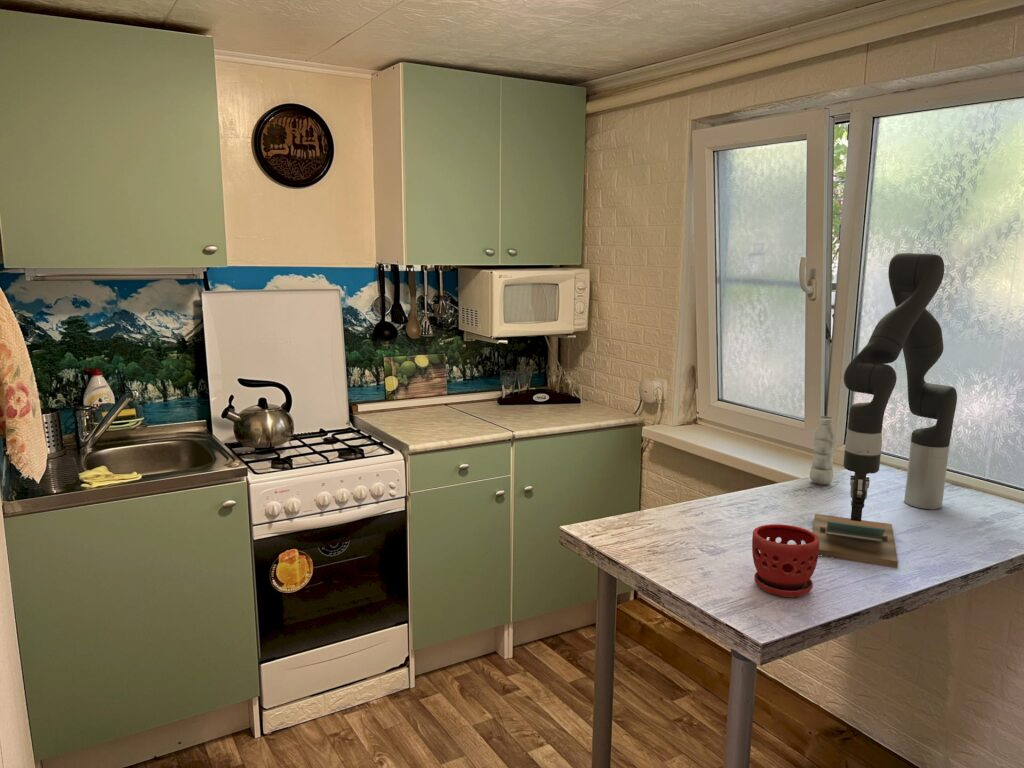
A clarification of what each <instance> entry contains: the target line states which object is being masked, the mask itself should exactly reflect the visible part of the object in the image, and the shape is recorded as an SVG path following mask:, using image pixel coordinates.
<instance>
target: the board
mask: <svg viewBox="0 0 1024 768" xmlns="http://www.w3.org/2000/svg"><path fill="white" fill-rule="evenodd" d="M828 517H831V518H838V519H845V520H851V517H850V518H849V517H842V516H835V515H826V514H819V513H814V519H813V527H812V528H813V529H812V532H813V533H814V534H816V535H817V536H818V538H819V554H818V555H822V556H821V557H824V556H827V557H826V558H830V557H833V559H837V558H839V559H838V560H843V559H845V560H844V561H849V562H850V561H851V562H857V563H863V564H870V565H875V566H876V565H878V566H884V567H889V568H890V567H891V568H896V569H898V565H899V560H898V554H897V547H896V539H895V536H894V535H895V534H894V529H893V524H892V523H889V522H888V523H887V522H880V521H879V522H878V521H871V520H863V519H861V522H867V523H875V524H882V525H885V531H884V534H883V536H882V538H881V539H874V538H867V537H860V536H853V535H846V534H839V533H832V532H826V530H827V522H828Z"/></svg>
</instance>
